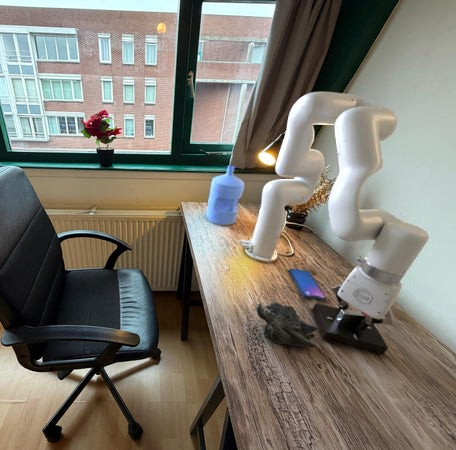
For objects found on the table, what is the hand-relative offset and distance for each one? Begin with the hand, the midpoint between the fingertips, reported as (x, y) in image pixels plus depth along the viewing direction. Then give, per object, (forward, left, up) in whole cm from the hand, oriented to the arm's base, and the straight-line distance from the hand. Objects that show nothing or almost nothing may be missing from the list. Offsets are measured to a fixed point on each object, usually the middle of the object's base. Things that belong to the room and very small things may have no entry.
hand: (349, 322), depth 68 cm
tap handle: (0, 0, 0) cm, 0 cm away
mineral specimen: (-18, -8, -3) cm, 20 cm away
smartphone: (-6, +18, -3) cm, 19 cm away
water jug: (-38, +60, -3) cm, 71 cm away
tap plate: (0, 0, -3) cm, 3 cm away
